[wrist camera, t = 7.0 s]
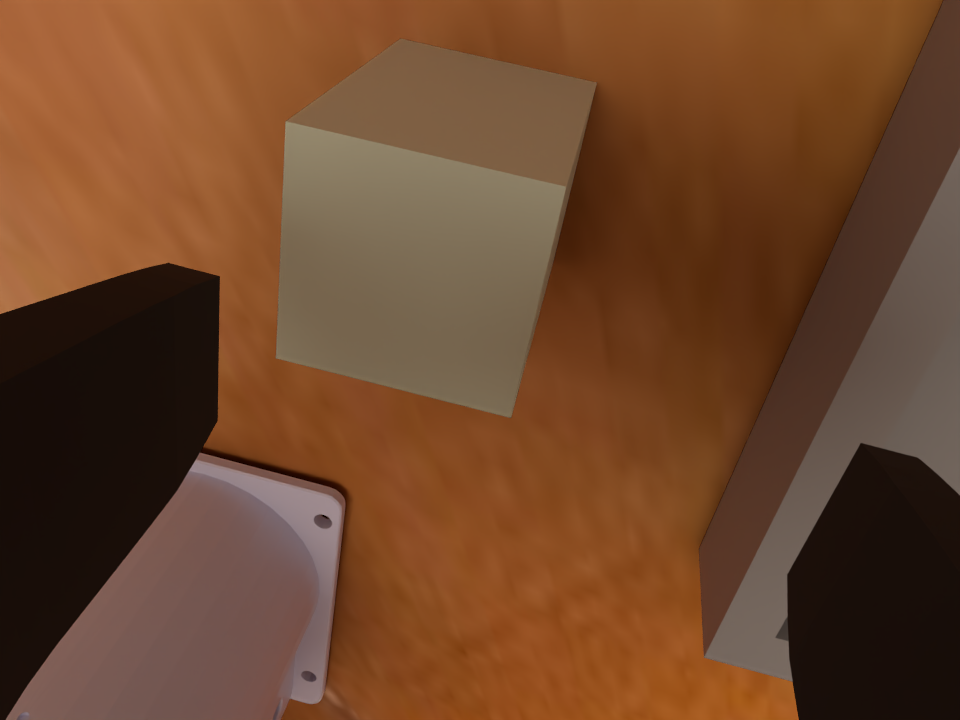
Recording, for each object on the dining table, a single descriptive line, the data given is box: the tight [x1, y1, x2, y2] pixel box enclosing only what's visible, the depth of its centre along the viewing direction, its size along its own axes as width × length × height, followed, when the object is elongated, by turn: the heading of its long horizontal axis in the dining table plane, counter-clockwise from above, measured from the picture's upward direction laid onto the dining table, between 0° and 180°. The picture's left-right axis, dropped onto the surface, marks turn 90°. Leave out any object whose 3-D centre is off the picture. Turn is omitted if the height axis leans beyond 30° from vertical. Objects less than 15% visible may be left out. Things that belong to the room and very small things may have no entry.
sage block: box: [276, 39, 597, 418], centre depth 15 cm, size 4×4×6 cm
